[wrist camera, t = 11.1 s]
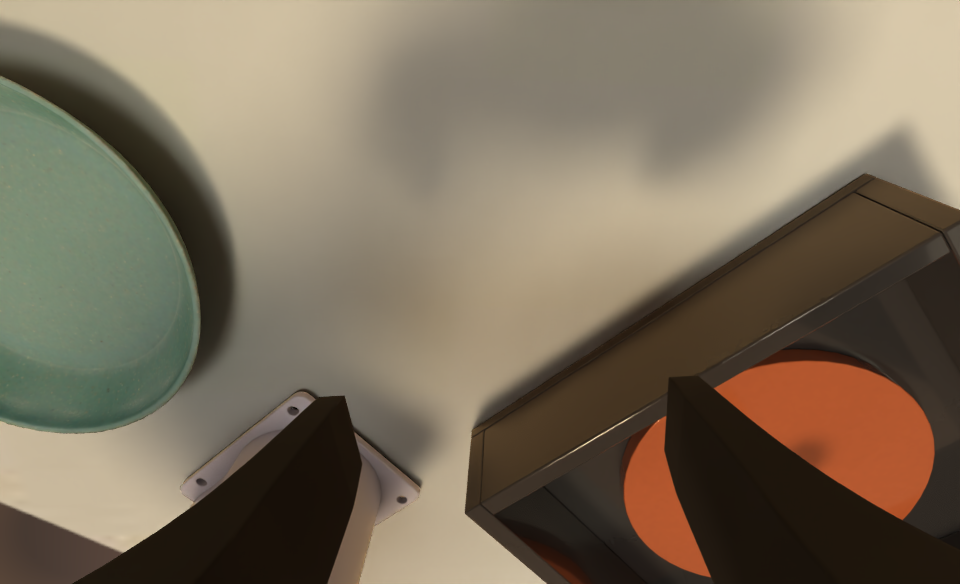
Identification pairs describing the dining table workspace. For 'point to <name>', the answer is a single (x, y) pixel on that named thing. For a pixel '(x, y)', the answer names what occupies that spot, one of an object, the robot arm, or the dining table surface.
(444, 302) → the dining table surface
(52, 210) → the saucer
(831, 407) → the orange round pegged disc
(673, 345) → the tray
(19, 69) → the dining table surface
